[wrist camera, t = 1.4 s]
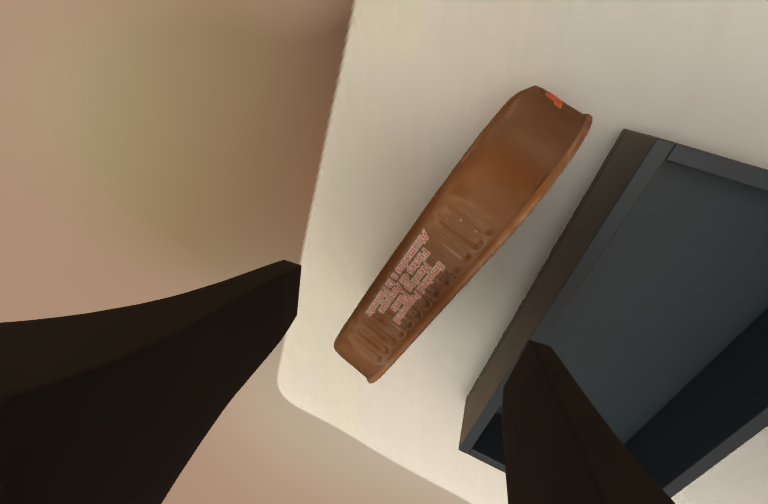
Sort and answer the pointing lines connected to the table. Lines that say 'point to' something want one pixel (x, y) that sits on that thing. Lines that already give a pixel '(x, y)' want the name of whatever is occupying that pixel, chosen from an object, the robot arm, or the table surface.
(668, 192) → the bin
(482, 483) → the table surface
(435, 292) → the tin
